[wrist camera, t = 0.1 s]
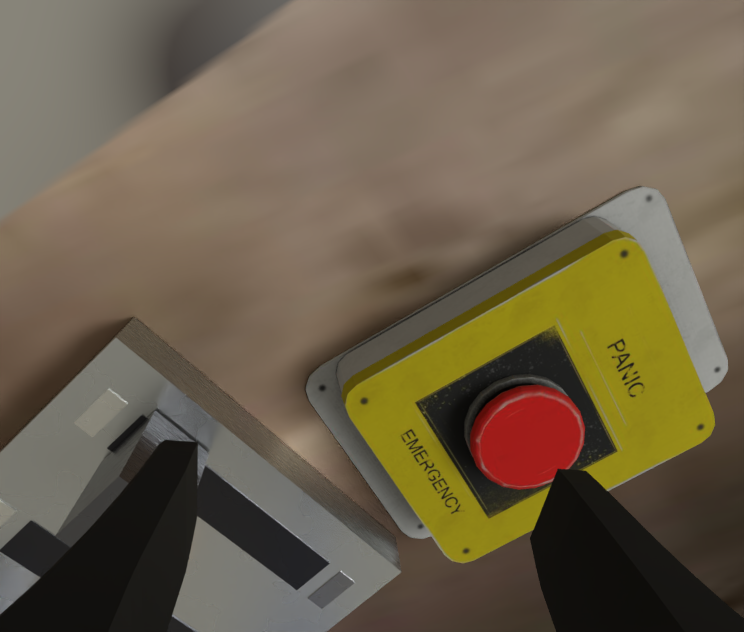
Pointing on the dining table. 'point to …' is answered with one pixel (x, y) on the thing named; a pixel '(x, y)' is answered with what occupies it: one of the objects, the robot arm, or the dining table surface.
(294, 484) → the slider control panel
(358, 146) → the dining table surface
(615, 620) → the robot arm
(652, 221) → the emergency button
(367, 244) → the dining table surface
